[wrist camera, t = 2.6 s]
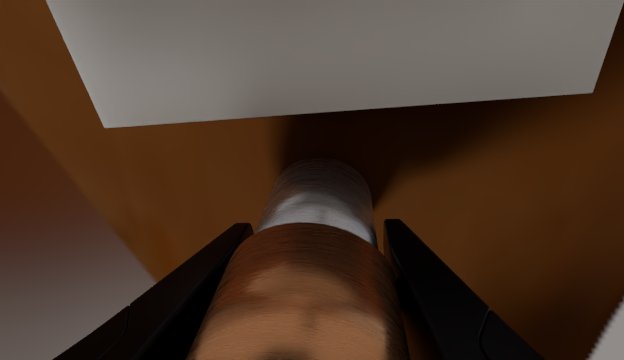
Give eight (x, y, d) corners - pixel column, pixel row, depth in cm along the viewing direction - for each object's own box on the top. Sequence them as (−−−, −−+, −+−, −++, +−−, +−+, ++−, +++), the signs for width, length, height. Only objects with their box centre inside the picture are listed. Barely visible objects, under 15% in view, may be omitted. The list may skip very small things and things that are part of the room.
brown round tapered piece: (356, 258, 11) (367, 523, 5) (253, 229, 11) (153, 475, 5) (401, 169, 9) (488, 440, 4) (276, 131, 9) (158, 355, 3)
